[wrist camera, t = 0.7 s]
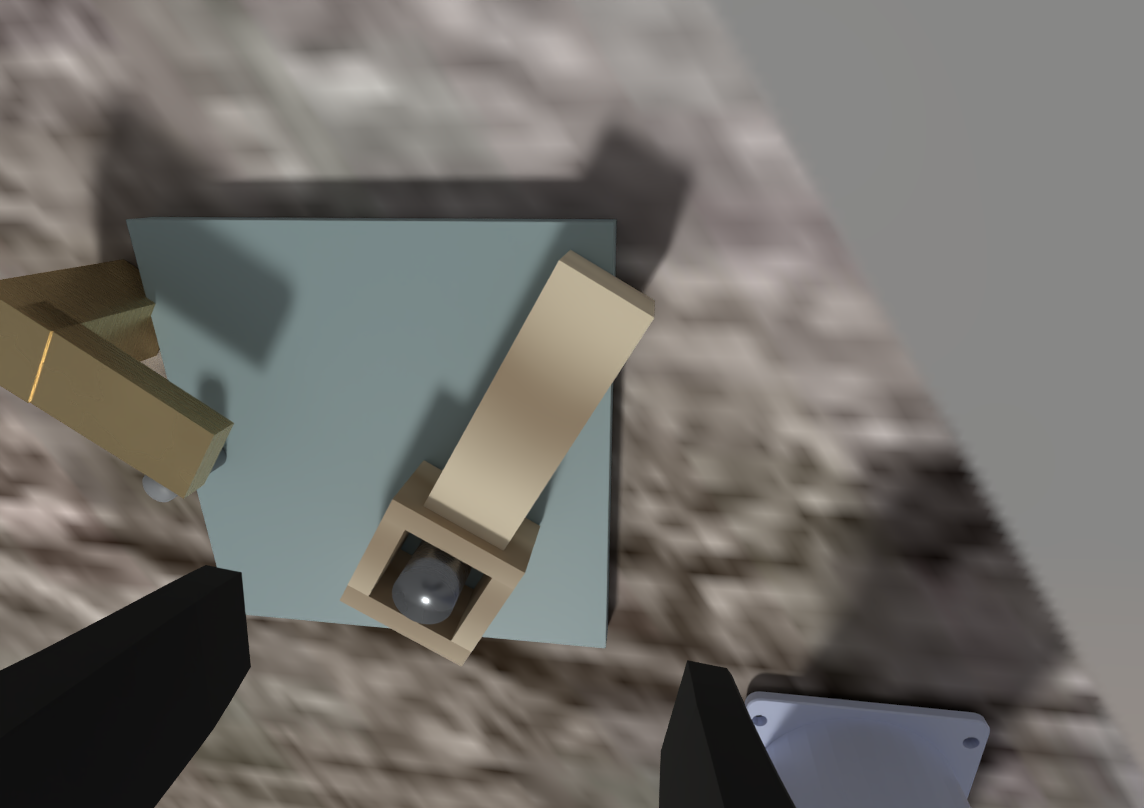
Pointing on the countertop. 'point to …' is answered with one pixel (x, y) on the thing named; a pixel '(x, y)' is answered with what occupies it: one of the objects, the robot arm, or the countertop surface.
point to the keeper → (105, 371)
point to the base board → (367, 395)
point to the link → (506, 455)
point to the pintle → (429, 584)
